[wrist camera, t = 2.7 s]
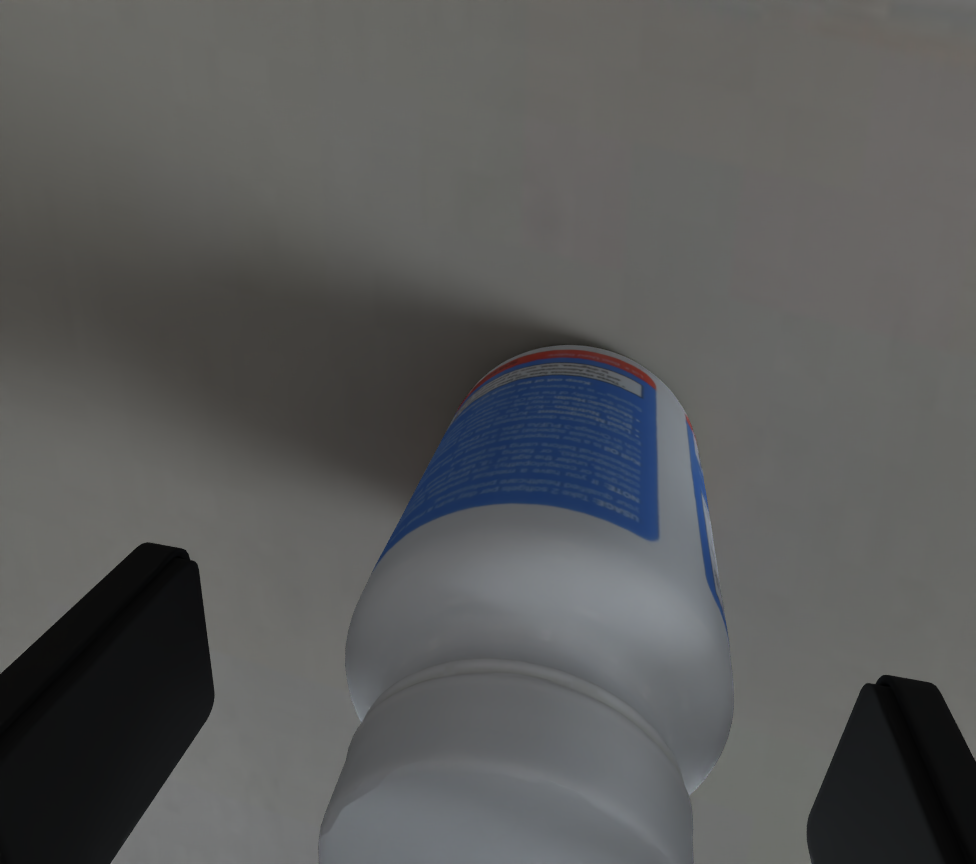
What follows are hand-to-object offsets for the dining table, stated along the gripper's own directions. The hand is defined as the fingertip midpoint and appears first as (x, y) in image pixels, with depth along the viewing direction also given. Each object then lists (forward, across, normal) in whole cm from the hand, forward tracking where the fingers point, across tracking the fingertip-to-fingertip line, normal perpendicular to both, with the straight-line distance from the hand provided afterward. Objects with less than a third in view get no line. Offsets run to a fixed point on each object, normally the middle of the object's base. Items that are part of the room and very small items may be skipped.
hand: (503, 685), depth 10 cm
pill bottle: (+7, 0, 0) cm, 7 cm away
